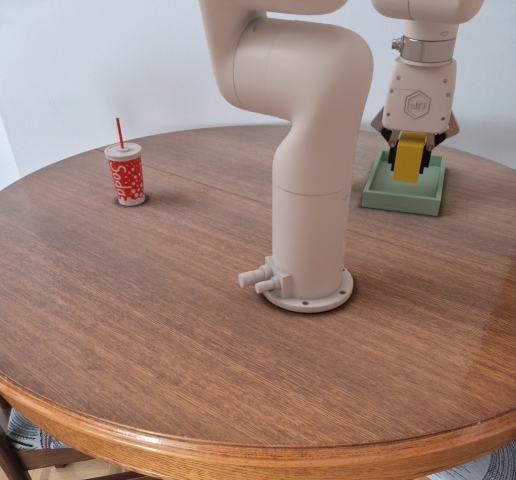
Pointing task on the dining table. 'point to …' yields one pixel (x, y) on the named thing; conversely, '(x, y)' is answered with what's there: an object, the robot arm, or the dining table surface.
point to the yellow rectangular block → (409, 157)
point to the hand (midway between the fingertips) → (407, 168)
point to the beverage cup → (126, 170)
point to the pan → (405, 187)
